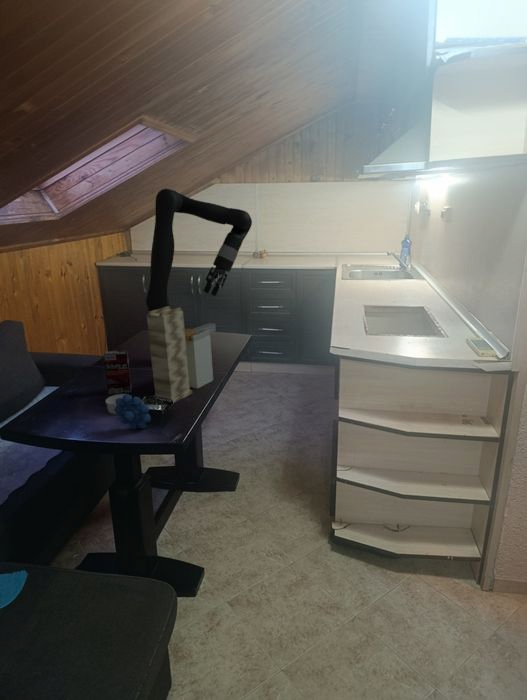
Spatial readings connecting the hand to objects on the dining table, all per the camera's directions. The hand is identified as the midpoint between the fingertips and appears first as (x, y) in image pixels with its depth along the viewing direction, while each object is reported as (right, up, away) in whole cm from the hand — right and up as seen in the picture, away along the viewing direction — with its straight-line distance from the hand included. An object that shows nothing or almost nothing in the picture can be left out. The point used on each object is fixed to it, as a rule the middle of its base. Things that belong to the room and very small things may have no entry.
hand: (209, 293), depth 194 cm
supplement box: (-33, -39, -12) cm, 53 cm away
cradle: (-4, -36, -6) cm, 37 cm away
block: (-3, -18, -10) cm, 20 cm away
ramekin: (-28, -45, -28) cm, 60 cm away
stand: (-12, -40, -18) cm, 46 cm away
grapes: (-19, -49, -44) cm, 69 cm away
